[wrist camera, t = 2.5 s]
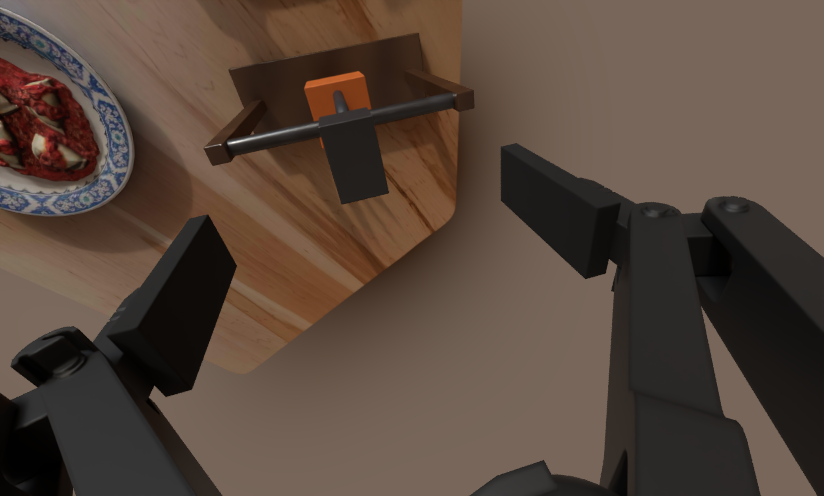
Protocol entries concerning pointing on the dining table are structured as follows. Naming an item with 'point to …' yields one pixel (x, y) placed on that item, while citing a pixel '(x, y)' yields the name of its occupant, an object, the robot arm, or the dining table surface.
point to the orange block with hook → (348, 135)
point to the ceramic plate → (56, 126)
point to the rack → (286, 78)
